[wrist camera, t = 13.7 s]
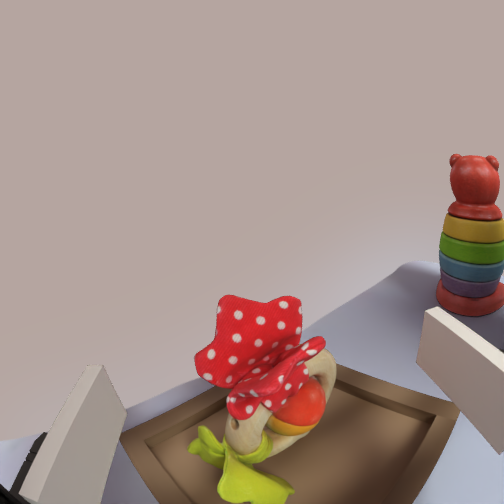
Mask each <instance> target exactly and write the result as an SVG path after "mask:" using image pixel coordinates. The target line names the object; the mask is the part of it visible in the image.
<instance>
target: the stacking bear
mask: <svg viewBox="0 0 504 504" xmlns="http://www.w3.org/2000/svg"><path fill="white" fill-rule="evenodd" d="M450 165H451V167H452V169H451V173H450V182H451V187H452V191H453V194H454V196H455V197H456V201H455V202H453V203H452V204H451V205H450V207H449V208H448V213H447V214H446V217H445V221H444V225H443V232H442V233H441V239H440V245H439V248H440V250H439V260H440V272H441V279H440V281H439V283H438V286H437V290H436V297H437V300H438V302H439V303H440V304H441V305H442V306H443V307H444V308H446V309H447V310H449V311H451V312H454V313H457V314H460V315H466V316H481V315H485V314H489V313H492V312H494V311H496V310H498V309H499V308H501V307H502V306H503V305H504V284H503V283H501V282H499V281H500V277H501V275H502V273H503V270H504V220H503V219H502V213H501V211H500V209H499V208H498V207H497V206H496V205H495V204H494V203H495V201H496V199H497V196H498V193H499V186H500V180H499V175H498V172H497V171H498V168H499V163H498V161H497V160H496V158H495V157H494V156H487V157H486V158H484V157H481V156H472V155H469V156H463V157H462V156H460V155H459V154H453V155H452V156H451V158H450Z"/></svg>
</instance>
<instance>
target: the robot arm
mask: <svg viewBox="0 0 504 504" xmlns="http://www.w3.org/2000/svg"><path fill="white" fill-rule="evenodd" d="M416 363H417V364H418V365H419V366H420V367H421V368H422V369H423V370H424V371H425V372H426V374H427V375H428V376H429V377H430V378H431V379H432V380H433V381H434V382H435V383H436V384H437V385H438V386H439V387H440V389H441V390H442V391H443V392H444V393H445V394H446V395H447V396H448V397H449V398H450V399H451V401H452V402H453V403H454V404H455V405H456V406H457V407H458V408H459V409H460V411H461V412H462V413H463V414H464V415H465V416H466V417H467V418H468V419H469V421H470V422H471V423H472V424H473V425H474V426H475V427H476V429H477V430H478V431H479V432H480V433H481V434H482V436H483V437H484V438H485V439H486V440H487V441H488V443H489V444H490V445H491V446H492V447H493V448H494V450H495V451H496V452H497V453H498V454H499V455H500V454H501V453H502V452H503V451H504V350H501V349H497V348H496V347H494V346H493V345H492V344H490V343H489V342H488V341H486V340H485V339H483V338H482V337H481V336H479V335H478V334H477V333H475V332H474V331H472V330H471V329H470V328H468V327H467V326H465V325H464V324H463V323H461V322H460V321H458V320H457V319H455V318H454V317H453V316H451V315H450V314H448V313H447V312H445V311H444V310H442V309H441V308H439V307H438V306H437V307H434V308H431V309H428V310H425V314H424V321H423V327H422V333H421V339H420V345H419V350H418V355H417V360H416ZM126 416H127V412H126V410H125V408H124V407H123V405H122V403H121V401H120V399H119V397H118V395H117V393H116V391H115V389H114V387H113V385H112V383H111V381H110V379H109V377H108V375H107V373H106V370H105V368H104V366H103V365H87V367H86V369H85V371H84V372H83V373H82V375H81V377H80V378H79V380H78V382H77V383H76V385H75V387H74V388H73V390H72V392H71V393H70V395H69V397H68V398H67V400H66V402H65V404H64V405H63V407H62V409H61V410H60V412H59V414H58V416H57V417H56V419H55V421H54V423H53V425H52V427H51V428H50V430H49V432H48V433H45V432H44V433H43V434H42V435H41V436H39V437H38V438H37V439H36V440H35V442H34V444H33V445H32V447H31V449H30V453H28V455H27V457H26V461H24V463H23V465H22V467H21V469H20V471H19V473H18V475H17V477H16V479H15V481H14V483H13V485H12V488H11V489H10V491H7V490H6V489H5V488H4V487H3V486H2V485H1V484H0V504H100V503H101V499H102V496H103V492H104V488H105V485H106V481H107V477H108V474H109V470H110V467H111V464H112V460H113V457H114V454H115V450H116V447H117V444H118V441H119V438H120V434H121V431H122V428H123V425H124V422H125V419H126Z"/></svg>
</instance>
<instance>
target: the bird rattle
mask: <svg viewBox="0 0 504 504" xmlns="http://www.w3.org/2000/svg"><path fill="white" fill-rule="evenodd" d="M301 331H302V308H301V301H300V300H299V299H297V298H295V297H292V296H282V297H280V298H277V299H274V300H272V301H270V302H268V303H261V302H256V301H252V300H248V299H244V298H241V297H237V296H234V295H225V296H224V297H222V298H221V299H220V300H219V303H218V307H217V326H216V332H215V338H214V340H213V341H212V343H211V344H209V345H208V346H207V347H205V348H204V349H203V350H201V351H199V352H198V353H197V354H196V355H195V356H194V359H195V366H196V370H197V373H198V375H199V376H200V377H202V378H203V379H205V380H206V381H208V382H209V383H211V384H212V385H216V386H218V387H222V388H227V389H232V390H231V392H230V393H229V395H228V397H227V399H226V402H227V409H228V412H229V415H228V418H227V422H226V427H225V434H224V437H223V442H222V443H220V442H219V441H218V440H217V439H216V437H215V436H214V434H213V433H212V432H211V431H210V430H209V429H208V428H207V427H206V426H204V425H202V426H199V427H198V437H199V438H196V439H195V440H193V441H192V442H191V443H190V444H189V446H188V448H187V451H188V452H189V453H191V454H194V455H199V456H200V457H201V459H202V460H204V461H205V462H207V463H209V464H211V465H213V466H215V467H217V468H219V469H222V470H223V475H222V477H221V479H220V481H219V483H218V486H217V491H218V493H219V495H220V497H221V498H222V499H224V500H226V501H228V502H231V503H243V502H248V501H249V502H251V504H284V503H285V501H286V499H287V497H288V495H292V494H294V493H295V490H294V488H293V487H292V486H291V485H290V484H289V483H288V482H287V481H286V480H284V479H283V478H280V477H277V476H274V475H272V474H268V473H265V472H263V471H260V470H257V469H255V468H254V467H253V466H252V464H254V463H259V462H262V461H263V460H265V459H266V458H268V457H271V456H273V455H276V454H277V453H279V452H281V451H283V450H285V449H286V448H288V447H289V446H291V445H292V444H293V443H295V442H296V441H297V440H298V439H300V438H302V437H304V436H306V435H307V434H308V433H309V431H310V430H311V429H312V428H314V427H315V426H316V425H317V424H318V422H319V421H320V419H321V417H322V415H323V413H324V411H325V406H326V403H327V401H328V399H329V397H330V394H331V392H332V390H333V387H334V383H335V379H336V362H335V359H334V357H333V356H332V354H331V353H330V352H329V351H328V350H326V349H325V348H324V347H325V344H326V341H325V340H324V338H323V337H322V336H317V337H313V338H311V339H309V340H308V341H306V342H304V343H303V344H299V342H300V338H301ZM264 426H266V427H267V428H269V429H268V430H265V431H264V430H263V428H264Z"/></svg>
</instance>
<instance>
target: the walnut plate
mask: <svg viewBox="0 0 504 504" xmlns="http://www.w3.org/2000/svg"><path fill="white" fill-rule="evenodd" d="M231 390H232V389H227V388H222V387H218V386H214V387H213V388H211V389H209V390H207V391H205V392H204V393H202V394H200V395H198V396H196V397H194V398H193V399H191V400H189V401H187V402H185V403H183V404H181V405H179V406H177V407H175V408H173V409H171V410H169V411H167V412H165V413H163V414H161V415H159V416H157V417H155V418H153V419H151V420H149V421H147V422H145V423H143V424H140V425H138V426H136V427H134V428H132V429H129V430H127V431H125V432H123V433H121V434H120V438H119V440H120V442H121V444H122V446H123V448H124V449H125V451H126V453H127V455H128V456H129V458H130V460H131V461H132V463H133V465H134V466H135V468H136V470H137V471H138V473H139V474H140V476H141V478H142V479H143V481H144V482H145V484H146V485H147V487H148V488H149V490H150V491H151V493H152V494H153V495H154V497H155V498H156V500H157V501H158V502H159V504H251V502H249V501H248V502H243V503H231V502H228V501H226V500H224V499H222V498H221V497H220V495H219V493H218V491H217V486H218V483H219V481H220V479H221V477H222V475H223V470H222V469H219V468H217V467H215V466H213V465H211V464H209V463H207V462H205V461H204V460H202V459H201V457H200V456H199V455H194V454H191V453H189V452H188V451H187V448H188V446H189V444H190V443H191V442H192V441H193V440H195V439H196V438H199V437H198V427H199V426H202V425H204V426H206V427H207V428H208V429H209V430H210V431H211V432H212V433H213V434H214V436H215V437H216V439H217V440H218V441H219V442H220V443H222V442H223V437H224V434H225V427H226V422H227V418H228V415H229V412H228V409H227V402H226V399H227V397H228V395H229V393H230V392H231ZM459 413H460V409H459V408H458V407H457V406H456V405H455V404H454V403H453V402H450V401H446V400H443V399H439V398H436V397H432V396H429V395H426V394H422V393H419V392H416V391H413V390H410V389H407V388H404V387H401V386H398V385H395V384H392V383H389V382H386V381H383V380H380V379H377V378H374V377H371V376H369V375H366V374H363V373H360V372H358V371H355V370H352V369H350V368H347V367H344V366H342V365H339V364H336V379H335V383H334V387H333V390H332V392H331V394H330V397H329V399H328V401H327V403H326V406H325V411H324V413H323V415H322V417H321V419H320V421H319V422H318V424H317V425H316V426H315V427H314V428H312V429H311V430H310V431H309V433H308V434H307V435H306V436H304V437H302V438H300V439H298V440H297V441H296V442H295V443H293V444H292V445H291V446H289V447H288V448H286V449H285V450H283V451H281V452H279V453H277V454H276V455H273V456H271V457H268V458H266V459H265V460H263V461H262V462H259V463H254V464H252V466H253V467H254V468H255V469H257V470H260V471H263V472H265V473H268V474H272V475H274V476H277V477H280V478H283V479H284V480H286V481H287V482H288V483H289V484H290V485H291V486H292V487H293V488H294V490H295V493H294V494H292V495H288V497H287V499H286V501H285V503H284V504H412V503H413V502H414V500H415V499H416V497H417V496H418V494H419V492H420V491H421V489H422V488H423V486H424V484H425V483H426V481H427V479H428V478H429V476H430V474H431V472H432V471H433V469H434V467H435V465H436V463H437V461H438V459H439V457H440V455H441V454H442V452H443V449H444V447H445V445H446V443H447V441H448V439H449V437H450V435H451V432H452V430H453V428H454V425H455V423H456V421H457V418H458V416H459ZM268 429H269V428H267V427H266V426H264V428H263V430H264V431H265V430H268Z"/></svg>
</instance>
